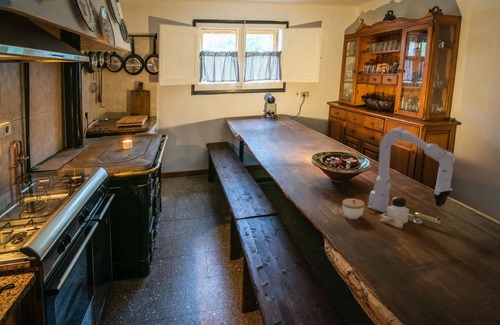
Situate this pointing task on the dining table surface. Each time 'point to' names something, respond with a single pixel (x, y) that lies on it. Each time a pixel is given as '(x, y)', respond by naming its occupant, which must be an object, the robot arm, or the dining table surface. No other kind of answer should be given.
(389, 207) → the medicine bottle
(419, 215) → the brass drawer handle
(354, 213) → the lidded jar
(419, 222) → the pivot post
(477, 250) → the dining table surface
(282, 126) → the dining table surface
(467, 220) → the dining table surface
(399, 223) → the cradle
